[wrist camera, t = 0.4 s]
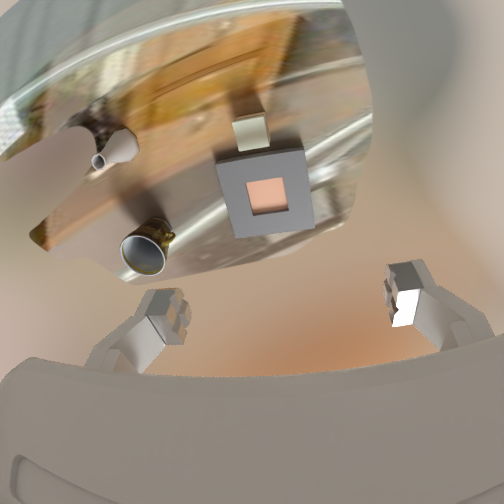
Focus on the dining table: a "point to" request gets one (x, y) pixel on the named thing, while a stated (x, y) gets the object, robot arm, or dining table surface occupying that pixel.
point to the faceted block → (251, 131)
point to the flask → (117, 149)
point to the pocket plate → (267, 192)
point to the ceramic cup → (147, 247)
